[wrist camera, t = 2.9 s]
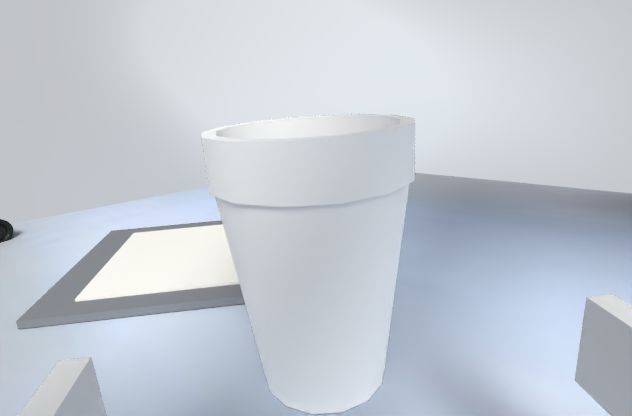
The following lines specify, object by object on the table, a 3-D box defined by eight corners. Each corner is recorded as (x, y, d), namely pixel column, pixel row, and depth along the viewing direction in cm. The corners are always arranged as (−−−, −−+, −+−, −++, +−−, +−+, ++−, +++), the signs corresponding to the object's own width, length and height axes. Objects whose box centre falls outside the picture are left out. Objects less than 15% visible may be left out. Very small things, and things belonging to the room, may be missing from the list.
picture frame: (330, 215, 48) (329, 208, 47) (364, 290, 30) (364, 280, 30) (112, 236, 45) (110, 229, 45) (18, 329, 28) (15, 318, 28)
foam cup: (219, 447, 18) (169, 148, 14) (248, 326, 27) (222, 122, 23) (438, 432, 18) (447, 130, 14) (395, 316, 27) (393, 110, 23)
